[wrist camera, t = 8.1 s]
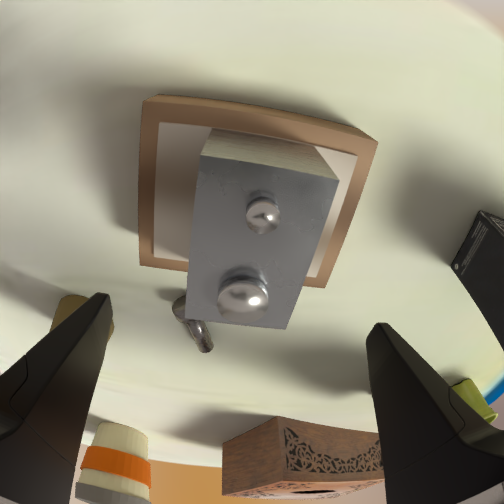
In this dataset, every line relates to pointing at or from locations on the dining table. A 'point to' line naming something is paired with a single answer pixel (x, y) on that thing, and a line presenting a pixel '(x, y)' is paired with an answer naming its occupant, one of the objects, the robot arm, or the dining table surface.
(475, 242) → the small box
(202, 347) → the loose bolt
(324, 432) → the tissue box cover
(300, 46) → the dining table surface
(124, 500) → the reusable coffee cup
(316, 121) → the picture frame
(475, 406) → the plant pot
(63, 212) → the dining table surface
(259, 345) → the dining table surface
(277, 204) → the housing
